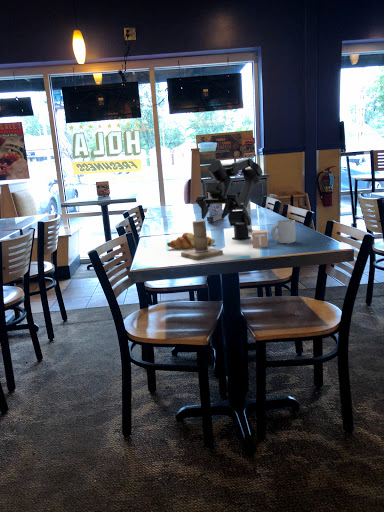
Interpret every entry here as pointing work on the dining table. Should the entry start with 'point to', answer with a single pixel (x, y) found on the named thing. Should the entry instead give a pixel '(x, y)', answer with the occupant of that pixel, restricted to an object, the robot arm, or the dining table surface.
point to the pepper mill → (200, 236)
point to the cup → (284, 231)
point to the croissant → (187, 242)
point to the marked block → (260, 238)
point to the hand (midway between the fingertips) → (212, 218)
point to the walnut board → (201, 254)
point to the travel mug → (248, 211)
